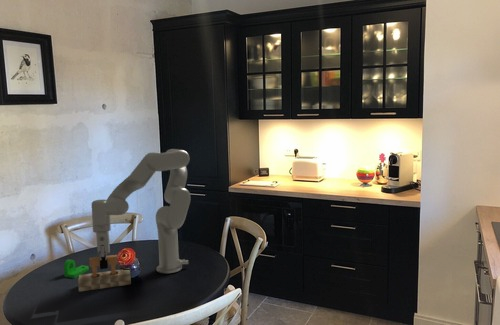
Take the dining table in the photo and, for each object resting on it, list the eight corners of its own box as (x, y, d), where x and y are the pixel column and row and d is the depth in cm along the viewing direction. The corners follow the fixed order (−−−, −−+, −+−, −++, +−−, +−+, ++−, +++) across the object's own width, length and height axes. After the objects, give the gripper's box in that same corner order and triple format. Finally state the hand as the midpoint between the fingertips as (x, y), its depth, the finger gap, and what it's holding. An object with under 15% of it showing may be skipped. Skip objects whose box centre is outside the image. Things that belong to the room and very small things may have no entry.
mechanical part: (74, 279, 197) (73, 262, 196) (64, 277, 199) (63, 261, 198) (91, 270, 208) (90, 254, 208) (81, 269, 210) (80, 253, 209)
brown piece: (117, 271, 191) (116, 254, 190) (117, 273, 188) (116, 256, 187) (90, 275, 187) (89, 257, 186) (90, 277, 184) (89, 259, 183)
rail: (130, 278, 195) (129, 268, 194) (131, 284, 188) (130, 273, 188) (80, 285, 188) (79, 275, 188) (78, 291, 181) (78, 280, 181)
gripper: (110, 231, 179) (112, 272, 181) (110, 222, 194) (112, 260, 196) (92, 232, 177) (94, 274, 178) (93, 224, 192) (95, 262, 194)
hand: (104, 266), depth 187 cm, fingers closed on brown piece, 3 cm apart
